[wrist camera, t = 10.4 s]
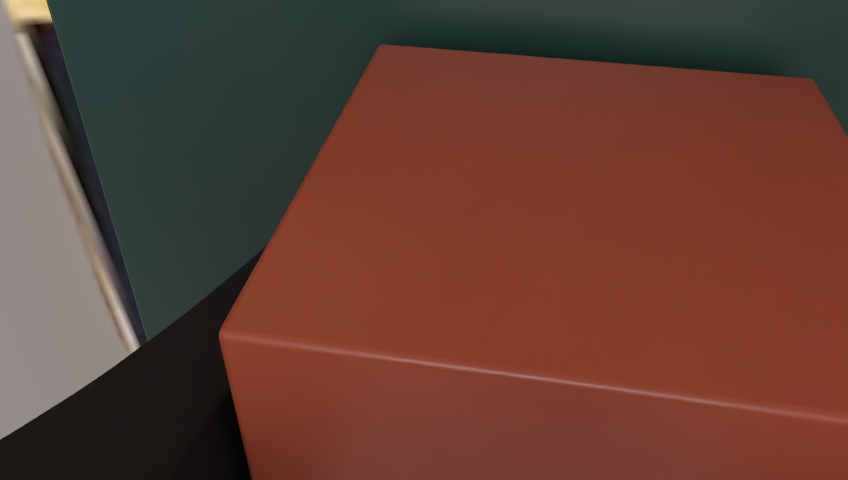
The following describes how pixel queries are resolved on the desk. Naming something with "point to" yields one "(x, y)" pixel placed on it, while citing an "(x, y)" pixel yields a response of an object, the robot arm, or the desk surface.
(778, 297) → the block
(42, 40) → the desk surface
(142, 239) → the bin lid
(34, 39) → the desk surface
